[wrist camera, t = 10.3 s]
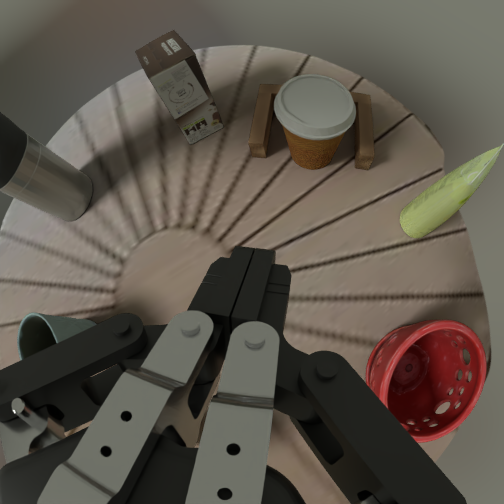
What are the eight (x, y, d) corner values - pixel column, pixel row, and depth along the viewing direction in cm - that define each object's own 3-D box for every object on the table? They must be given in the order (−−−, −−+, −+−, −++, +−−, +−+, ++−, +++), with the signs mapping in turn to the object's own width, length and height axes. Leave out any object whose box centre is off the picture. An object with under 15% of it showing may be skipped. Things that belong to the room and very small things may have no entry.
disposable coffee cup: (271, 133, 41) (263, 80, 29) (329, 120, 40) (337, 66, 28) (290, 187, 39) (288, 140, 27) (353, 171, 38) (371, 123, 26)
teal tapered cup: (70, 309, 40) (18, 306, 29) (114, 320, 39) (60, 321, 27) (68, 366, 39) (18, 374, 27) (112, 383, 37) (61, 399, 25)
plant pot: (444, 316, 32) (494, 317, 21) (432, 405, 30) (474, 433, 18) (360, 317, 34) (390, 320, 23) (348, 412, 32) (369, 451, 20)
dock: (252, 157, 41) (248, 142, 37) (262, 99, 43) (260, 84, 39) (367, 170, 38) (374, 156, 34) (365, 110, 40) (370, 95, 36)
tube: (427, 246, 35) (513, 198, 16) (396, 239, 35) (472, 181, 16) (429, 209, 35) (504, 143, 16) (399, 201, 36) (464, 124, 17)
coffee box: (225, 127, 42) (196, 54, 27) (190, 146, 43) (147, 80, 27) (204, 94, 45) (174, 27, 29) (172, 112, 45) (133, 50, 29)
